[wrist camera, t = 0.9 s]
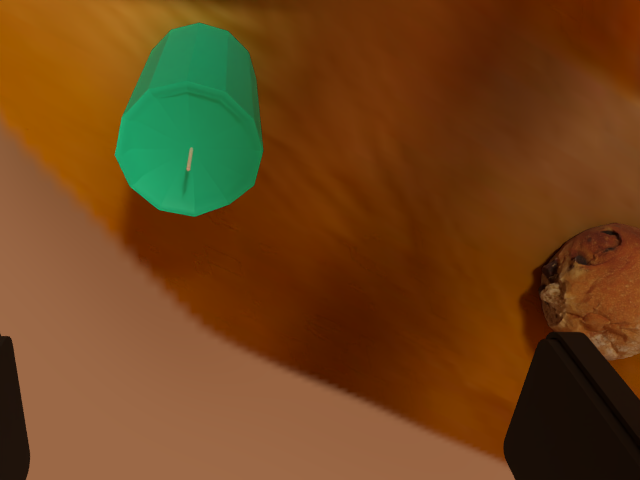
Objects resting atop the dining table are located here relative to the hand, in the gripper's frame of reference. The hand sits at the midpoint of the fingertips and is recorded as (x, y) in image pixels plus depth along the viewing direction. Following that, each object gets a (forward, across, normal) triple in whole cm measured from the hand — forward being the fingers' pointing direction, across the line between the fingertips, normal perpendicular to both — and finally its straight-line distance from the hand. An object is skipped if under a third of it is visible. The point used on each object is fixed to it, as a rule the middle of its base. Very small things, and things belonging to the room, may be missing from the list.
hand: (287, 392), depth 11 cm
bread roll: (+27, -26, +14) cm, 40 cm away
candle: (+27, +2, +1) cm, 27 cm away
